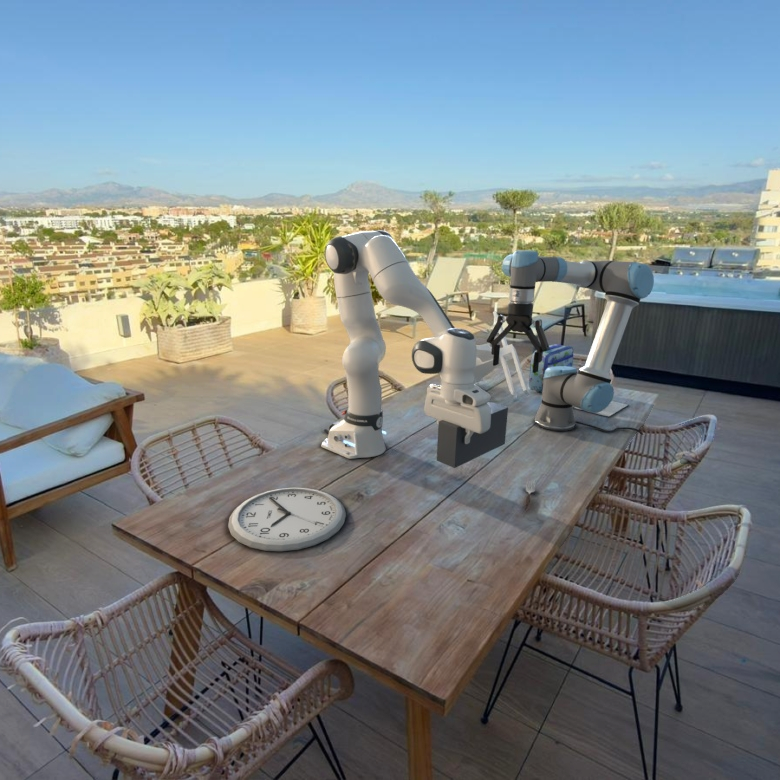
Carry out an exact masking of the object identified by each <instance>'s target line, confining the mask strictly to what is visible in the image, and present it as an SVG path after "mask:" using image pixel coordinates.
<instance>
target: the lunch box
mask: <svg viewBox="0 0 780 780" xmlns="http://www.w3.org/2000/svg"><path fill="white" fill-rule="evenodd" d="M549 348H550V349H549V350H547V351H544V352H543V356H542V361H541V362H540V363H539V367H538V372H536V373H532V372H533V362H534V352H536V351H537V350H536V349H535V350H534V352H533V353H532V355H531V358H530V359H531V360H530V366H529V377H528V379H529V380H528V387H529V390H531V391H536V392H541V393H542V390H543V379H544V374H545V370H546V369H547V368H549V367H555V366H569V367H573V363H574V347H572V346H568V345H562V344H551V345H549Z"/></svg>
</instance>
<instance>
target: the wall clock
mask: <svg viewBox="0 0 780 780" xmlns="http://www.w3.org/2000/svg"><path fill="white" fill-rule="evenodd" d="M346 518H347V513H346V509H345V506H344V505H343V503H341V501H340V500H339V499H338V498H336V497H334V496H332V495H331V494H330V493H327V492H324V491H321V490H318V489H313V488H308V487H283V488H277V489H272V490H267V491H264V492H261V493H258V494H255V495H253V496H252V497H250V498H248V499H246V500H244V501H243V502H242V503H240V504H239V505H238V506H237V507H236V508H234V510H233V511H232V513H231V514H230V516H229V518H228V524H227V528H228V530H229V532H230V535H231V536H232V538H234V539H235V540H236V541H237V542H238V543H239V544H242V545H244V546H246V547H249V548H251V549H256V550H261V551H266V552H287V551H288V552H289V551H299V550H302V549H306V548H310V547H313V546H316V545H318V544H320V543H323V542H325V541H328V540H329V539H330V538H332V537H333V536H334V535H336V534H337V533H339V531H340V530H341V528H342V527H343V526H344V524H345V521H346Z"/></svg>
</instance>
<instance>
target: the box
mask: <svg viewBox="0 0 780 780" xmlns="http://www.w3.org/2000/svg"><path fill="white" fill-rule="evenodd" d="M487 403H488V404H489V406H490V409H491V424H490V428H489V430H488V431H486V432H484V433H481V434H479V433H476V432H474V433H473V434H472V436H471V437H470V443H468V444H465V443H462V437H463V436H466V434H467V433H466V429H465V428H462V427H461V426H459V425H456V424H453V423H450V422H447V421H444V420H441V421H439V423H438V424H437V445H436V446H437V447H436V462H438V463H441V464H444V465H445V466H448V467H451V468H452V469H455V468H456V469H457V468H458V467H460V466H462V465H464V464H466V463H468V462H471V461H473V460H474V459H477V458H479V457H481V456H484V455H485V454H488V453H489V452H492V451H493V450H496V449H498V448H500V447H501V446H504V445H505V443H506V437H507V436H506V435H507V425H508V424H507V423H508V415H509V414H508V413H509V407H508V406H505V405H502V404H499V403H495V402H491V401H489V402H487Z"/></svg>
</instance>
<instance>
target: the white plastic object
mask: <svg viewBox="0 0 780 780" xmlns="http://www.w3.org/2000/svg"><path fill="white" fill-rule="evenodd" d="M492 315H493V319H494V321H495V324H496V323H497V319H498V316H499V314H498V312H497V311H496V310H495V311H492ZM503 330H504V328H503V325H502V326H501V328H500V330H499V331H498V336H499V335H500V334H501V333H502V331H503ZM500 342H501V345H502V347H500V352H499V364H498V365H496V366H493V356H494V355H492V354H491V351H492V346H490V345H491V344H490V343H488V342H486V343H483V344H479V345H476V366H475V369H474V378H475V384H477V383H480V382H482V381H484V378H485V377H486V376H487V375H489V374H490V373H492V372H494V371H495V370H496V369H497V368H499V367H500V366H502V370H503V373H504V376H505V380H506V383H507V386H508V390H509V393H510V394H511V395H512V397H513V398H514V399H515V400H517V392H516V391H517V390H516V388H515V385H514V381H513V378H512V375H511V371H510V369H509V365H508V361H510V360H513V363H514V366H515V369H516V372H517V376H518V380H519V382H520V385H521V389H522V391H523V393H524V395H525V396H526V397H528V396H531V395H530V389H529V388H528V387H529V386H528V384H527V381H526V378H525V375H524V371H523V369H522V368H523V367H522V366H521V362H520V359H519V355H518V352H517V349H516V347H515V346H514V345H513V343H511V344H508V341H507V337H506V336H505V337H504V338H503V339H502V340H501V341H500ZM439 376H440V377H441V375H440V374H439Z"/></svg>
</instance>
